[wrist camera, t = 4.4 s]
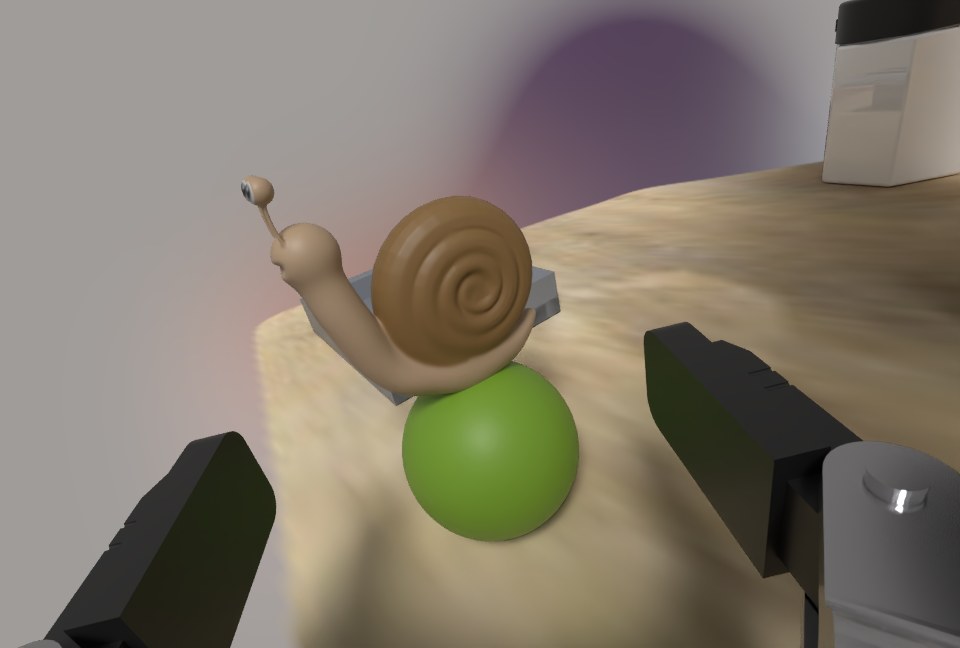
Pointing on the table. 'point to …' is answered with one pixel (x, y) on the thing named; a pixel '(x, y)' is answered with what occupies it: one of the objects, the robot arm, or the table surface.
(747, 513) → the robot arm
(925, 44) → the jar
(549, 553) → the table surface
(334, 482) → the table surface
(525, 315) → the snail figurine
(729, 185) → the table surface
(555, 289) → the tray
